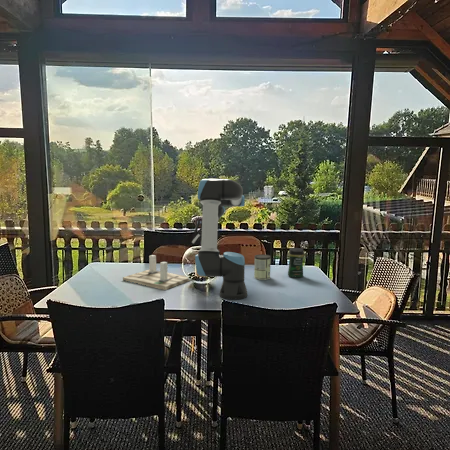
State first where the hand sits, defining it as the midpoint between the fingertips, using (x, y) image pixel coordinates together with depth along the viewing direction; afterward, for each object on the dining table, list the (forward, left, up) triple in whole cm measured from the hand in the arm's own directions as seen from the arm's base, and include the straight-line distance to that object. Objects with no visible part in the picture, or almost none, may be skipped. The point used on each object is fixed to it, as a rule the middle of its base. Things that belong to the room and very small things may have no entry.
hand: (193, 241), depth 245 cm
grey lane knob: (0, +27, -22) cm, 35 cm away
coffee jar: (+28, -60, -24) cm, 70 cm away
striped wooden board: (-9, +20, -24) cm, 33 cm away
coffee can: (+18, -40, -24) cm, 50 cm away
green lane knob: (-15, +13, -22) cm, 29 cm away
